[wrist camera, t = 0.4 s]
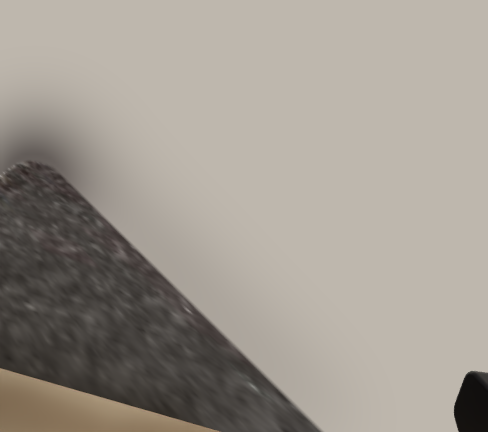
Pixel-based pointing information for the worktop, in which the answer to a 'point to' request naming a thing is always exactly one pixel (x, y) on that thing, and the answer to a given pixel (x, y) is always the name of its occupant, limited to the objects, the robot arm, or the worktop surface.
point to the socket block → (73, 410)
